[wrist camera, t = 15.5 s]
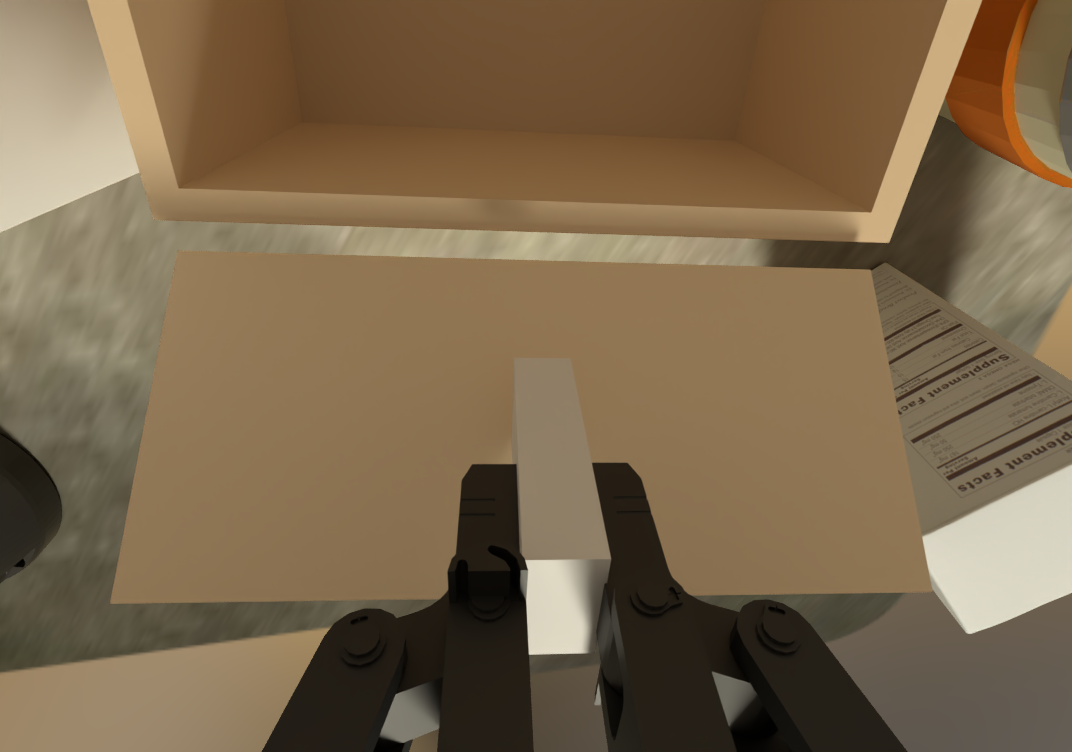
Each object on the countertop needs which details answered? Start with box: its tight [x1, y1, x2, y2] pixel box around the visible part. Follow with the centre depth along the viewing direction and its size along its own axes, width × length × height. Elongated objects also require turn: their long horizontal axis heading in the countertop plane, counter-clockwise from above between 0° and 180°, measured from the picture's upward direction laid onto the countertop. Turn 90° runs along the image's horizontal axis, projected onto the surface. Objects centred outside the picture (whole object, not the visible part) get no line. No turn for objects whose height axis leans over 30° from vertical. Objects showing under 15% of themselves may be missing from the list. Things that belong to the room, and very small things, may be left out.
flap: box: [110, 251, 933, 604], centre depth 17 cm, size 22×10×1 cm
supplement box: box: [871, 263, 1072, 634], centre depth 31 cm, size 10×9×17 cm
